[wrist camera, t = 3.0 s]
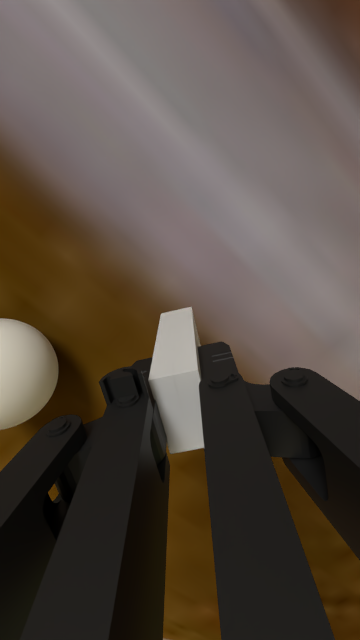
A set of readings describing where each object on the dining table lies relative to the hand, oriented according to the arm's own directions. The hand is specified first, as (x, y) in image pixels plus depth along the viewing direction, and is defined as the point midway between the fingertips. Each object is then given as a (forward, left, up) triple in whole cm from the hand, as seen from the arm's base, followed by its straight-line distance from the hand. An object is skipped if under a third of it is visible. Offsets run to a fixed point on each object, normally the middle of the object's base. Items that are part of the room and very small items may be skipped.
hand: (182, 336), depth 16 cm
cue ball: (+9, 0, 0) cm, 9 cm away
